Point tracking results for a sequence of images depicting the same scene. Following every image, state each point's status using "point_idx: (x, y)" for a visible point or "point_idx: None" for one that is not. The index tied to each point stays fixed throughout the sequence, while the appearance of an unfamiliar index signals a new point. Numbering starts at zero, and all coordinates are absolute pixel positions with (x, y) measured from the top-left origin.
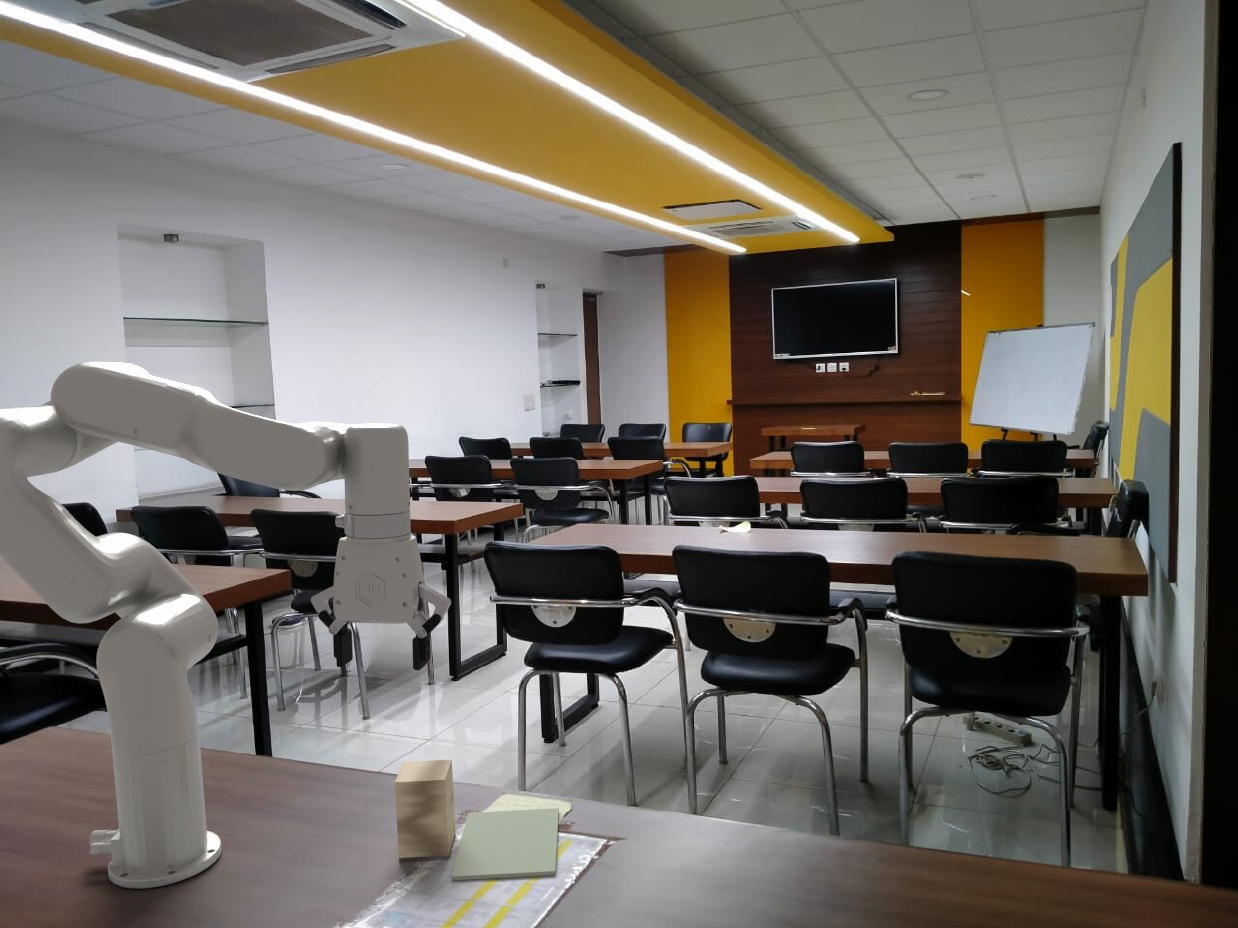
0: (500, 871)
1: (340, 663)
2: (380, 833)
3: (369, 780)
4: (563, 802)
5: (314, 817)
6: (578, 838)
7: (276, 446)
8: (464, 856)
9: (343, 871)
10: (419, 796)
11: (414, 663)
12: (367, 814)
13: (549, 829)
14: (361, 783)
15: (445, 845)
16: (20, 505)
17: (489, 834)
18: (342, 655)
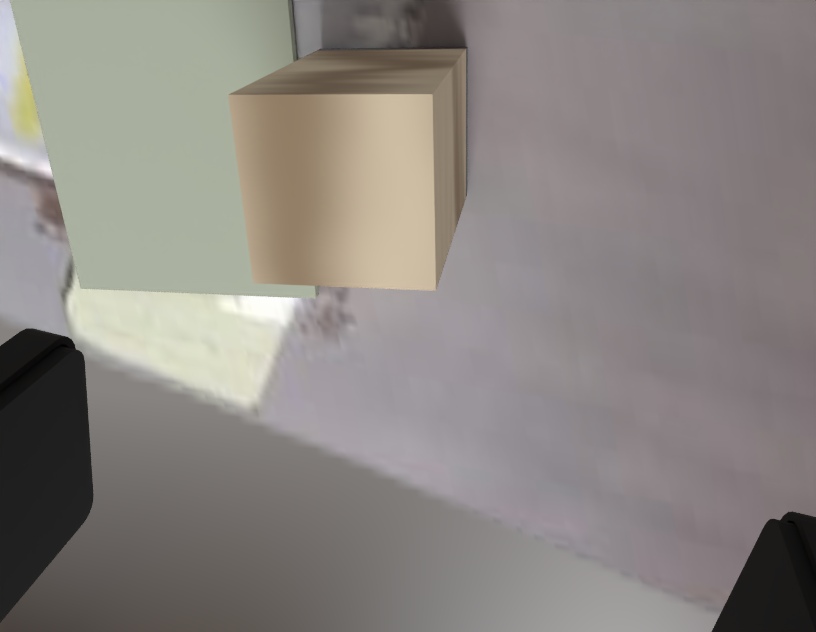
0: None
1: (802, 529)
2: (557, 236)
3: (639, 539)
4: (92, 337)
5: (778, 358)
6: (3, 140)
7: None
8: (268, 36)
9: (637, 8)
10: (348, 83)
11: (25, 358)
12: (615, 352)
13: (73, 173)
14: (660, 527)
15: (316, 55)
16: None
17: (227, 164)
18: (799, 601)
